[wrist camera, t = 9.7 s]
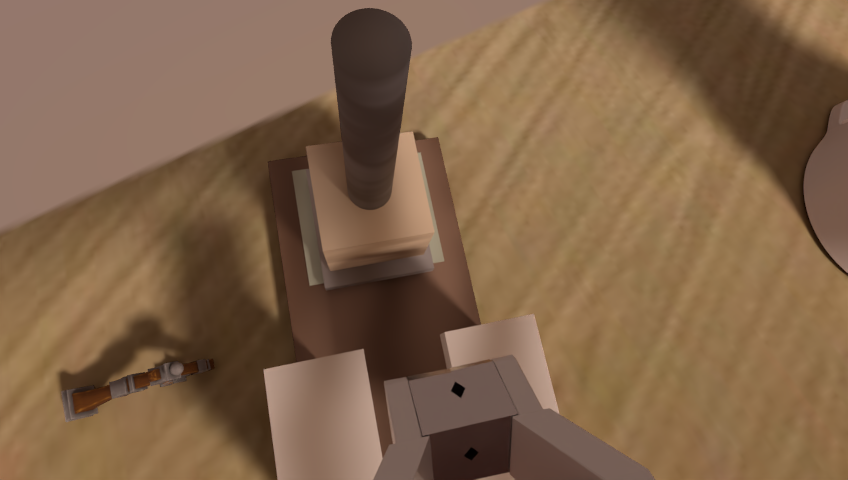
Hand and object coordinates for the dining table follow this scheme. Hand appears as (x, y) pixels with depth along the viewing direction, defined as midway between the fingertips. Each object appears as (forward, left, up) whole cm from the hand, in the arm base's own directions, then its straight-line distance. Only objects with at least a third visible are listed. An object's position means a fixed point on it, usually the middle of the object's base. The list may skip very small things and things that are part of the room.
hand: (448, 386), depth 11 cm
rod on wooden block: (0, -10, -20) cm, 23 cm away
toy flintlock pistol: (+15, -3, -23) cm, 28 cm away
